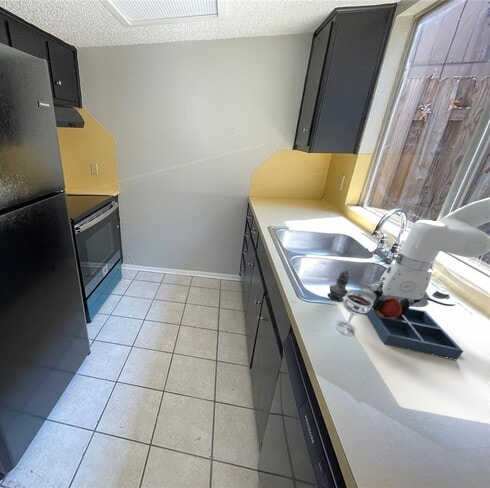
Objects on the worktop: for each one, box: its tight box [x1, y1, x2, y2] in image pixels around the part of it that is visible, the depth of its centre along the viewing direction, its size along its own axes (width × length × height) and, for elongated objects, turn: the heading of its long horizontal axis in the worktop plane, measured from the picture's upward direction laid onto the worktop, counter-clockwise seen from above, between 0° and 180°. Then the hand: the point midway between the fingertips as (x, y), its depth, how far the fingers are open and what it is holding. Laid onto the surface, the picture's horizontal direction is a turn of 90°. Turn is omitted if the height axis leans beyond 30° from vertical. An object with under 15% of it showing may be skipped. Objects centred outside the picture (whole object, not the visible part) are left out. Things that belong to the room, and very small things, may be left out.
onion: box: [380, 296, 402, 318], centre depth 83 cm, size 6×6×8 cm
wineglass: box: [335, 291, 374, 337], centre depth 77 cm, size 7×7×12 cm
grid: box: [365, 300, 464, 361], centre depth 80 cm, size 17×17×4 cm
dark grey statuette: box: [327, 269, 351, 303], centre depth 92 cm, size 6×6×12 cm
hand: (388, 309), depth 83 cm, fingers closed on onion, 5 cm apart
